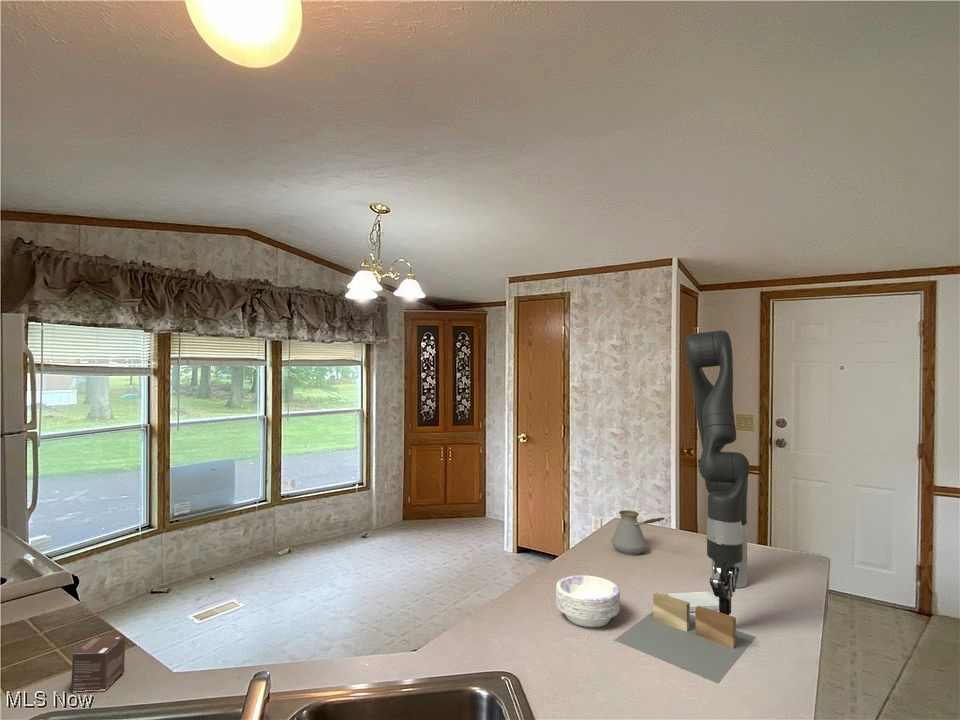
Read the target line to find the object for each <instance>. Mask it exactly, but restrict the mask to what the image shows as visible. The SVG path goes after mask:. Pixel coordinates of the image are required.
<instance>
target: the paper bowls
mask: <svg viewBox="0 0 960 720" xmlns="http://www.w3.org/2000/svg"><path fill="white" fill-rule="evenodd" d="M620 599H621V591H620V588H619V586H618V585H617V584H615V583H614V582H613V581H611V580H608V579H606V578H603V577H600V576H596V575H595V576H593V575H586V574H585V575H583V574H582V575H581V574H580V575H579V574H576V575H570V576H567V577H563V578H560V579H559V580H558V581H557V583H556V585H555V606H556V608H558V610H559V611H560V612H562V613H563V614H564V615H565V617H566V619H568V621H570V623H573V624H574V625H577V626H581V627H584V628H585V627H586V628H600V627H603V626H606V625H607V624H608V623H609V622H610V620H611V618H614V617H615V616H617V615H618V614H619V613H620V611H621V606H620V605H621V602H620V601H621V600H620Z"/></svg>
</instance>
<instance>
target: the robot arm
mask: <svg viewBox="0 0 960 720" xmlns="http://www.w3.org/2000/svg"><path fill="white" fill-rule="evenodd" d="M684 350H685V351H684V352H685V357H686V361H687V365H688V366H687V367H688V370H689V375H690V379H691V385H692V389H693V395H694V405H695V413H696V420H697V427H698V431H699V436H700V437H699V438H700V443H701V448H702V451H701V456H700V460H699V464H698V470H699V474H700V476H701V477H702V478H703V480H704V484H705V489H706V491H707V493H708V495H707V520H706V521H707V522H706V555H707V557H708V558H709V559H710V560H711V577H710V578H709V585H710V587H711V589H712V593H713V595H715V596H716V597H718V598H719V610H718V612H720V613H723V614H727V615H731V614H732V598H733V593H736V588H739V589H742V588H745V587H747V586H748V527H747V526H748V521H747V520H748V513H747V512H748V511H747V510H748V502H747V501H748V487H749V486H748V485H749V483H748V482H749V480H748V479H749V474H750V469H751V468H750V467H751V466H750V462H749V460H748V458H747V456H745V454H743V453H741V452H737V451H731V452H730V451H722V450H723V449H724V447H725V446H726V445H730V444H733V443H734V442H735V441H736V439H737V429H736V421H735V414H734V413H735V412H734V400H733V399H734V397H733V396H734V358H733V357H734V356H733V355H734V354H733V345H732V340H731V337H730V334H729V333H728V332H727V331H726V330H713V331H704V332H696V333H691V334H688V335H686V337H685V341H684ZM713 367H719V371H718V372H719V374H718V377H717V379H716V382H715V384H714V385H713V384H712V382H711V381H710V380H709V378H708V377H707V376H706V374H705V371H704V369H703V368H713Z"/></svg>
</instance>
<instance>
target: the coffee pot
mask: <svg viewBox="0 0 960 720" xmlns="http://www.w3.org/2000/svg"><path fill="white" fill-rule="evenodd" d="M618 514H619V515H620V520H619V522H618V524H617V526H616V529H615V532H614V534H613V537H612V538H611V540H610V541H611V544H612V546H613V548H614V549H615V550H617V552H618V553H620V554H622V555H626V556H627V555H628V556H637V555H640V554H642V552H644V551H645V550H646V547H647V546H648V545H647V540H646V539H645V536H644V534H643V531H642V529H641V527H640V526H641V525H644V524H645V525H646V524H653V523H656V522H661V524H662V525H664V523H663V521H664V520H665V521H666V522H665V525H666V524H668V521H667V519H666V517H657V518H649V519H647V520H644V521H638V516H639V515H640V514H639V512H637V511H635V510H628V509H627V510H620V511H618Z"/></svg>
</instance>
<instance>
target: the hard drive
mask: <svg viewBox="0 0 960 720" xmlns="http://www.w3.org/2000/svg"><path fill="white" fill-rule="evenodd" d="M665 595H667V596H670V597H674V598H677V599H680V600H683V601H686V602H689V603H690V613H695V608H696V607H697V606H702V607H705V608H708V609H711V610H714V611H719V597H716V596H715V595H714V593H712V592H709V591H695V592H694V591H693V592H691V591H689V592H672V593H671V592H670V593H665Z"/></svg>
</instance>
